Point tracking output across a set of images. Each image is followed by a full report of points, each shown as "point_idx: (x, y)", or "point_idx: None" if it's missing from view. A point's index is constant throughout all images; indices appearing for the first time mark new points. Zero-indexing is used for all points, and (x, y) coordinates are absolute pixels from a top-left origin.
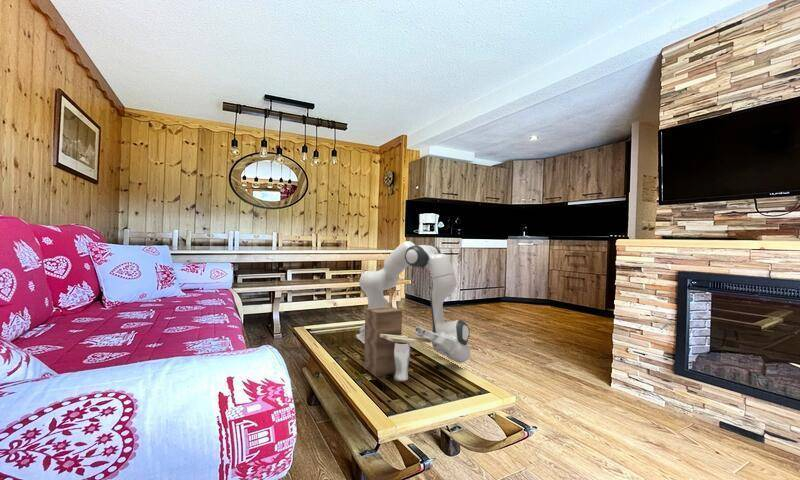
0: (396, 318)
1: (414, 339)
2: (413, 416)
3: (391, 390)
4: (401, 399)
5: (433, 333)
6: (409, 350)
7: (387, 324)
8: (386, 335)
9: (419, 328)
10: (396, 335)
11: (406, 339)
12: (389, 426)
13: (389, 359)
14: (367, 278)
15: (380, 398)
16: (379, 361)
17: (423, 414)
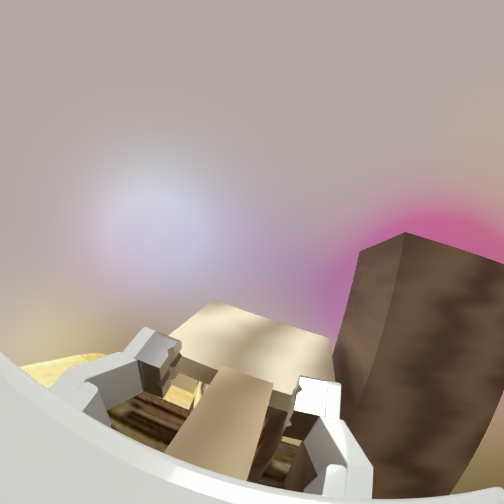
0: (379, 286)
1: (184, 355)
2: (61, 370)
3: (166, 441)
4: (112, 413)
5: (88, 417)
6: (192, 410)
7: (357, 311)
8: (287, 328)
9: (301, 394)
10: (311, 368)
11: (193, 320)
12: (91, 355)
13: (301, 476)
14: None
15: (161, 410)
16: (301, 450)
17: (43, 374)
